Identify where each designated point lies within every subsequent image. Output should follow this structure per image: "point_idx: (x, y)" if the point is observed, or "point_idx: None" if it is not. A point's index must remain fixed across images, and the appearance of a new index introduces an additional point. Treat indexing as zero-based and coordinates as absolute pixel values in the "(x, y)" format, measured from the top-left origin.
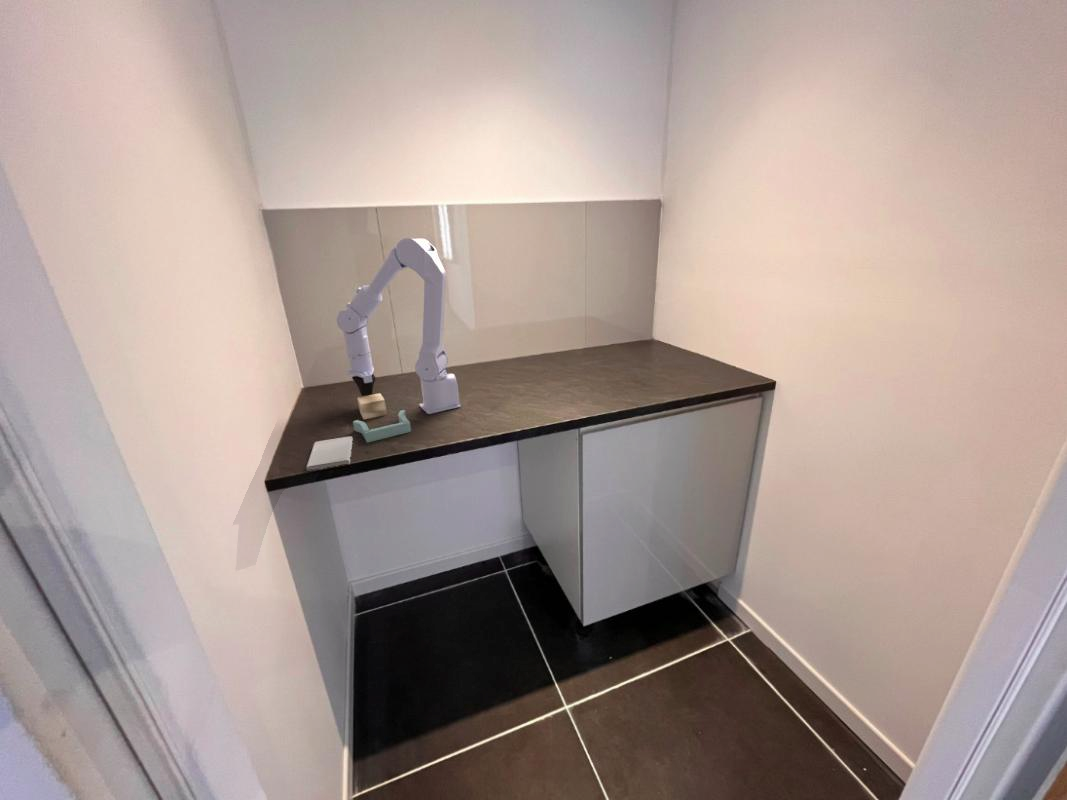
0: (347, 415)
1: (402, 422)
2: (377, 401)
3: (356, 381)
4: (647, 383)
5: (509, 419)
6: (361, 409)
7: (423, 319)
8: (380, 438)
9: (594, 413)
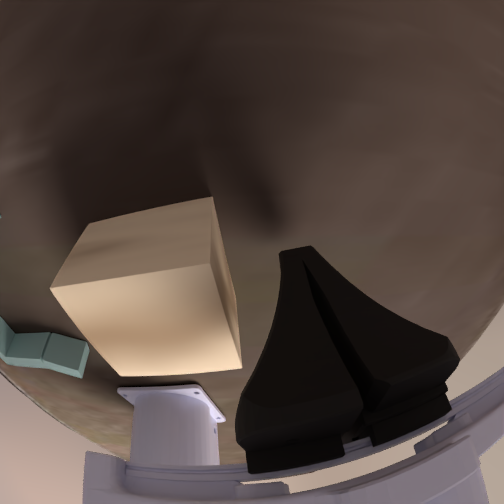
0: (182, 121)
1: (1, 354)
2: (102, 353)
3: (236, 424)
4: None
5: (95, 429)
6: (80, 255)
7: None
8: None
9: (115, 454)
